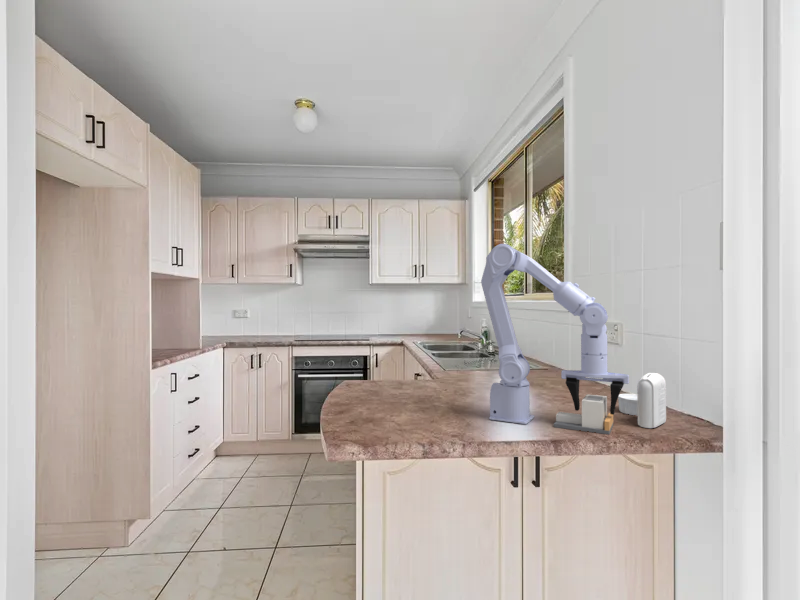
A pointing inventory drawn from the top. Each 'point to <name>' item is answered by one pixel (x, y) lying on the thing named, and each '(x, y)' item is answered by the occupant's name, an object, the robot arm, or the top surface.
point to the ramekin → (628, 403)
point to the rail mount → (575, 423)
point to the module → (594, 411)
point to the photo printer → (651, 400)
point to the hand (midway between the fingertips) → (594, 411)
